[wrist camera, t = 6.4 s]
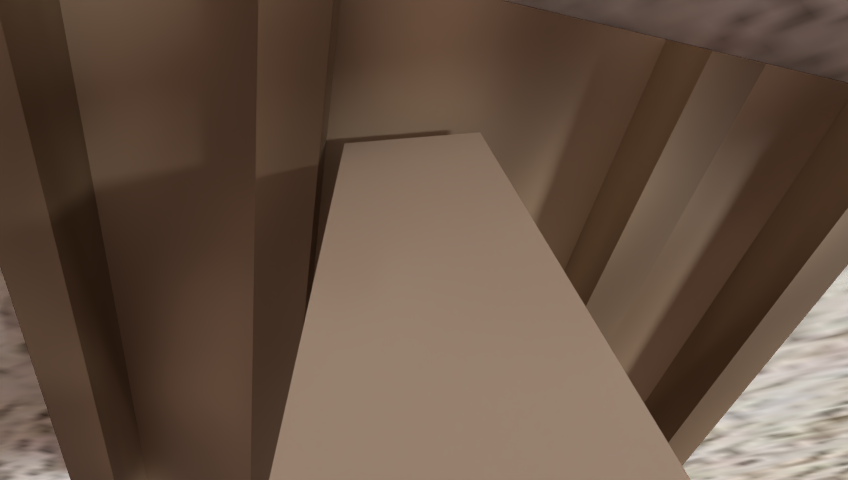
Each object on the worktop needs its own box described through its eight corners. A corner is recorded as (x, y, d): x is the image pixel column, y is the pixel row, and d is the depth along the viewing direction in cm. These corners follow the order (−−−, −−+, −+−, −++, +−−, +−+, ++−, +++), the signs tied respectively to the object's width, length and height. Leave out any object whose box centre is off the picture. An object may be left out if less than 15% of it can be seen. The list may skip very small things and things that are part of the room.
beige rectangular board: (479, 132, 10) (700, 496, 3) (477, 456, 16) (546, 812, 9) (344, 143, 10) (254, 547, 3) (394, 465, 16) (403, 832, 9)
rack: (871, 88, 12) (993, 117, 10) (602, 477, 21) (631, 543, 18) (-27, -127, 8) (-191, -166, 6) (112, 455, 17) (68, 533, 15)
